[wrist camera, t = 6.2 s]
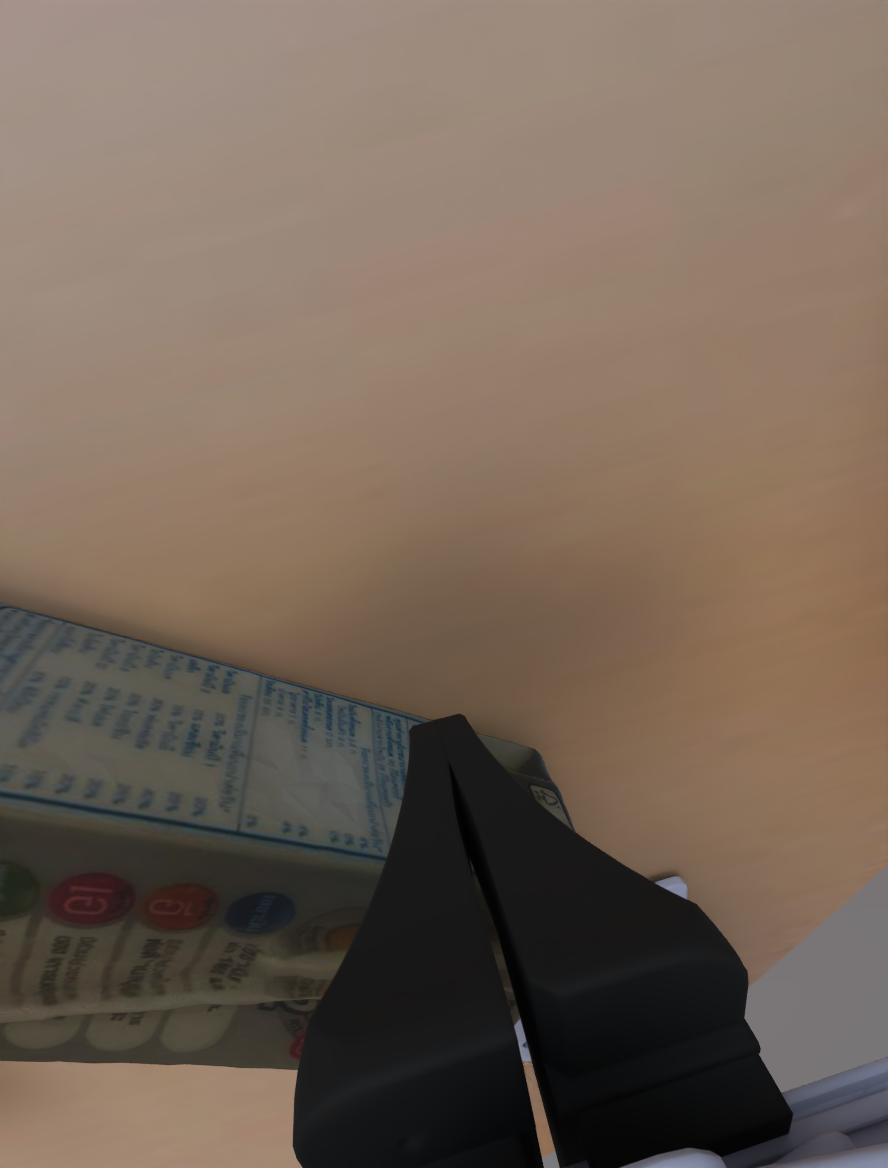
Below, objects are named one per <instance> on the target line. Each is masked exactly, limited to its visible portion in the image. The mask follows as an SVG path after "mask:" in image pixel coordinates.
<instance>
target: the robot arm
mask: <svg viewBox="0 0 888 1168" xmlns="http://www.w3.org/2000/svg"><path fill="white" fill-rule="evenodd" d="M409 739H410V744H409V761H408V769H407V776H406V782H405V788H404V793H403V799H402V804H401V808H400V812H399V816H398V820H397V824H396V828H395V832H394V836H393V839H392V843H391V846H390V849H389V852H388V855H387V858H386V861H385V864H384V867H383V870H382V873H381V876H380V878H379V881H378V884H377V886H376V889H375V891H374V894H373V896H372V899H371V901H370V904H369V906H368V909H367V911H366V913H365V915H364V918H363V920H362V922H361V924H360V926H359V928H358V930H357V932H356V934H355V937H354V939H353V941H352V943H351V945H350V947H349V949H348V951H347V953H346V955H345V957H344V959H343V961H342V963H341V965H340V967H339V969H338V970H337V972H336V974H335V976H334V978H333V979H332V981H331V983H330V984H329V986H328V988H327V990H326V991H325V993H324V995H323V997H322V998H321V1000H320V1002H319V1003H318V1005H317V1007H316V1009H315V1010H314V1012H313V1014H312V1015H311V1017H310V1019H309V1021H308V1025H307V1029H306V1033H305V1037H304V1042H303V1046H302V1051H301V1056H300V1061H299V1067H298V1073H297V1081H296V1088H295V1098H294V1124H293V1148H294V1151H295V1155H296V1158H297V1160H298V1161H299V1163H300V1164H301V1166H302V1167H303V1168H544V1166H543V1162H542V1157H541V1152H540V1147H539V1142H538V1138H537V1133H536V1125H535V1121H534V1116H533V1111H532V1106H531V1101H530V1096H529V1092H528V1087H527V1082H526V1077H525V1072H524V1068H523V1063H522V1061H525V1062H529V1061H532V1064H533V1068H534V1072H535V1076H536V1079H537V1083H538V1087H539V1091H540V1094H541V1098H542V1102H543V1106H544V1109H545V1113H546V1117H547V1121H548V1125H549V1128H550V1132H551V1136H552V1140H553V1144H554V1147H555V1151H556V1155H557V1159H558V1162H559V1166H560V1168H888V1057H885V1058H883V1059H880V1060H877V1061H874V1062H871V1063H868V1064H865V1065H862V1066H859V1067H856V1068H853V1069H850V1070H847V1071H844V1072H841V1073H839V1074H836V1075H833V1076H830V1077H827V1078H824V1079H821V1080H818V1081H815V1082H812V1083H809V1084H807V1085H803V1086H801V1087H798V1088H795V1089H792V1090H789V1091H786V1092H783V1093H781V1092H780V1090H779V1088H778V1087H777V1085H776V1083H775V1081H774V1080H773V1078H772V1076H771V1075H770V1073H769V1071H768V1070H767V1068H766V1066H765V1064H764V1063H763V1061H762V1059H761V1057H760V1056H759V1054H758V1053H760V1049H761V1048H760V1045H759V1042H758V1040H757V1039H756V1037H755V1035H754V1034H753V1032H752V1030H751V1029H750V1027H749V1025H748V1023H747V1022H746V1020H745V1019H744V1016H745V1007H746V999H747V991H748V973H747V970H746V968H745V967H744V965H743V963H742V961H741V959H740V958H739V956H738V955H737V953H736V952H735V950H734V949H733V947H732V946H731V945H730V943H729V942H728V941H727V939H726V938H725V937H724V936H723V934H722V933H721V932H720V931H719V929H718V928H717V927H716V926H715V925H714V923H713V922H712V921H711V920H710V919H709V918H708V916H707V915H706V914H705V913H704V912H703V911H702V910H701V909H700V908H699V906H698V905H697V904H695V903H693V902H691V901H689V900H687V894H688V888H687V885H686V883H685V882H684V880H683V879H682V878H681V877H677V876H674V877H670V878H666V879H663V880H659V881H656V882H652V881H650V880H648V879H647V878H645V877H643V876H642V875H640V874H638V873H636V872H635V871H633V870H631V869H630V868H628V867H626V866H625V865H623V864H621V863H620V862H618V861H617V860H615V859H614V858H612V857H611V856H609V855H608V854H606V853H605V852H603V851H602V850H600V849H599V848H597V847H596V846H594V845H593V844H591V843H590V842H588V841H587V840H585V839H584V838H583V837H581V836H580V835H579V834H577V833H576V832H575V831H573V830H572V829H571V828H569V827H568V826H567V825H565V824H564V823H563V822H562V821H560V820H559V819H558V818H557V817H555V816H554V815H553V814H552V813H551V812H549V811H548V810H547V809H546V808H545V807H544V806H542V805H541V804H540V803H539V802H538V801H537V800H536V799H535V798H534V797H533V796H532V795H530V794H529V793H528V792H527V791H526V790H525V789H524V788H523V787H522V786H521V785H520V784H519V783H518V782H517V781H516V780H515V779H514V778H513V777H512V776H511V775H510V774H509V773H508V772H507V770H506V769H505V768H504V767H503V766H502V765H501V764H500V763H499V762H498V761H497V759H496V758H495V757H494V756H493V755H492V754H491V752H490V751H489V750H488V749H487V748H486V746H485V745H484V744H483V743H482V741H481V740H480V739H479V737H478V736H477V735H476V733H475V732H474V730H473V729H472V727H471V726H470V724H469V723H468V721H467V719H466V717H465V716H463V715H461V714H456V715H453V716H449V717H445V718H441V719H437V720H433V721H430V722H426V723H422V724H418V725H414V726H412V728H411V729H410V730H409ZM470 860H471V862H472V865H473V868H474V871H475V873H476V876H477V879H478V882H479V884H480V887H481V890H482V893H483V895H484V898H485V901H486V903H487V906H488V909H489V912H490V914H491V917H492V920H493V923H494V926H495V929H496V932H497V935H498V939H499V942H500V945H501V949H502V953H503V956H504V960H505V964H506V968H507V971H508V975H509V979H510V982H511V986H512V990H513V993H514V997H515V1001H516V1005H517V1008H518V1012H519V1016H520V1020H519V1021H518V1022H517V1023H516V1025H515V1026H514V1024H513V1020H512V1016H511V1013H510V1009H509V1005H508V1001H507V998H506V994H505V991H504V987H503V984H502V980H501V977H500V973H499V970H498V966H497V963H496V959H495V956H494V952H493V949H492V945H491V942H490V938H489V935H488V931H487V928H486V924H485V921H484V917H483V914H482V910H481V906H480V903H479V899H478V896H477V892H476V889H475V885H474V881H473V875H472V869H471V863H470Z"/></svg>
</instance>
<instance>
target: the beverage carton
mask: <svg viewBox="0 0 888 1168" xmlns="http://www.w3.org/2000/svg"><path fill="white" fill-rule="evenodd" d="M430 721H432V720H428V719H425V718H421V717H418V716H415V715H411V714H408V713H404V712H401V711H398V710H394V709H391V708H387V707H383V706H380V705H376V704H372V703H368V702H364V701H360V700H356V699H352V698H348V697H345V696H341V695H338V694H334V693H330V692H327V691H323V690H319V689H316V688H312V687H308V686H305V685H301V684H297V683H294V682H290V681H286V680H282V679H279V678H275V677H272V676H268V675H265V674H262V673H258V672H255V671H252V670H248V669H244V668H241V667H237V666H233V665H229V664H226V663H222V662H218V661H214V660H211V659H207V658H203V657H199V656H195V655H191V654H187V653H183V652H179V651H176V650H172V649H168V648H164V647H161V646H158V645H155V644H151V643H148V642H144V641H140V640H136V639H132V638H128V637H124V636H121V635H117V634H113V633H110V632H106V631H102V630H99V629H95V628H91V627H88V626H84V625H80V624H77V623H73V622H69V621H66V620H62V619H58V618H55V617H51V616H47V615H44V614H40V613H36V612H33V611H29V610H25V609H21V608H18V607H14V606H10V605H6V604H2V603H0V1061H28V1062H54V1061H62V1062H79V1063H141V1064H160V1065H177V1064H192V1065H211V1066H227V1067H237V1068H272V1069H288V1070H298V1067H299V1061H300V1056H301V1051H302V1046H303V1042H304V1037H305V1033H306V1029H307V1025H308V1021H309V1019H310V1017H311V1015H312V1014H313V1012H314V1010H315V1009H316V1007H317V1005H318V1003H319V1002H320V1000H321V998H322V997H323V995H324V993H325V991H326V990H327V988H328V986H329V984H330V983H331V981H332V979H333V978H334V976H335V974H336V972H337V970H338V969H339V967H340V965H341V963H342V961H343V959H344V957H345V955H346V953H347V951H348V949H349V947H350V945H351V943H352V941H353V939H354V937H355V934H356V932H357V930H358V928H359V926H360V924H361V922H362V920H363V918H364V915H365V913H366V911H367V909H368V906H369V904H370V901H371V899H372V896H373V894H374V891H375V889H376V886H377V884H378V881H379V878H380V876H381V873H382V870H383V867H384V864H385V861H386V858H387V855H388V852H389V849H390V846H391V843H392V839H393V836H394V832H395V828H396V824H397V820H398V816H399V812H400V808H401V804H402V799H403V793H404V788H405V782H406V776H407V769H408V761H409V744H410V739H409V730H410V729H411V728H412V726H414V725H418V724H422V723H426V722H430ZM476 735H477V736H478V737H479V739H480V740H481V741H482V743H483V744H484V745H485V746H486V748H487V749H488V750H489V751H490V752H491V754H492V755H493V756H494V757H495V758H496V759H497V761H498V762H499V763H500V764H501V765H502V766H503V767H504V768H505V769H506V770H507V772H508V773H509V774H510V775H511V776H512V777H513V778H514V779H515V780H516V781H517V782H518V783H519V784H520V785H521V786H522V787H523V788H524V789H525V790H526V791H527V792H528V793H529V794H530V795H532V796H533V797H534V798H535V799H536V800H537V801H538V802H539V803H540V804H541V805H542V806H544V807H545V808H546V809H547V810H548V811H549V812H551V813H552V814H553V815H554V816H555V817H557V818H558V819H559V820H560V821H562V822H563V823H564V824H565V825H567V826H568V827H569V828H571V829H572V830H573V831H575V830H574V827H573V825H572V822H571V819H570V817H569V814H568V811H567V809H566V807H565V805H564V803H563V799H562V796H561V793H560V791H559V789H558V788H557V786H556V785H555V784H554V782H553V781H552V780H551V778H550V776H549V774H548V772H547V769H546V767H545V764H544V761H543V759H542V757H541V755H540V754H539V753H538V752H537V751H536V750H535V749H533V748H529V747H525V746H521V745H518V744H515V743H511V742H507V741H504V740H500V739H496V738H493V737H489V736H485V735H481V734H478V733H476ZM470 863H471V869H472V875H473V881H474V885H475V889H476V892H477V896H478V899H479V903H480V906H481V910H482V914H483V917H484V921H485V924H486V928H487V931H488V935H489V938H490V942H491V945H492V949H493V952H494V956H495V959H496V963H497V966H498V970H499V973H500V977H501V980H502V984H503V987H504V991H505V994H506V998H507V1001H508V1005H509V1009H510V1013H511V1016H512V1020H513V1024H514V1026H515V1025H516V1023H517V1022H518V1021H519V1020H520V1016H519V1012H518V1008H517V1005H516V1001H515V997H514V993H513V990H512V986H511V982H510V979H509V975H508V971H507V968H506V964H505V960H504V956H503V953H502V949H501V945H500V942H499V939H498V935H497V932H496V929H495V926H494V923H493V920H492V917H491V914H490V912H489V909H488V906H487V903H486V901H485V898H484V895H483V893H482V890H481V887H480V884H479V882H478V879H477V876H476V873H475V871H474V868H473V865H472V862H471V860H470Z"/></svg>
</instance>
